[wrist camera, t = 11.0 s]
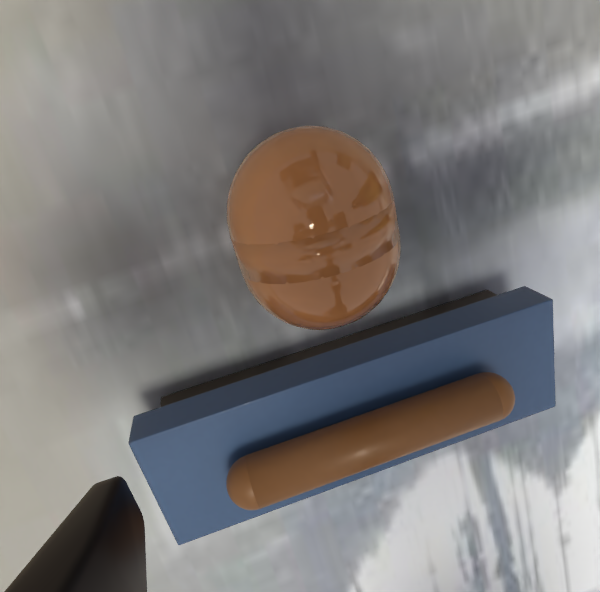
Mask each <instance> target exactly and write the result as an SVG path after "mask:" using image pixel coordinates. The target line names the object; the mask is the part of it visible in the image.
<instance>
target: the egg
mask: <svg viewBox="0 0 600 592" xmlns="http://www.w3.org/2000/svg"><path fill="white" fill-rule="evenodd" d="M227 224H228V228H229V233H230V238H231V241H232V244H233V247H234V251H235V254H236V257H237V260H238V264H239V267H240V270H241V273H242V275H243V278H244V280H245V282H246V285H247V287H248V288H249V290H250V292H251V293H252V294H253V296H254V297H255V299H256V300H257V302H258V303H259V304H260V305H261V306H262V307H263V308H265V309H266V310H267V311H268V312H269V313H270V314H272V315H273V316H275V317H276V318H278V319H280V320H282V321H283V322H285V323H287V324H290V325H293V326H297V327H300V328H304V329H310V330H324V329H332V328H337V327H341V326H344V325H347V324H350V323H353V322H355V321H357V320H359V319H361V318H362V317H364V316H365V315H367V314H368V313H369V312H370V311H371V310H372V309H373V308H375V307H376V306H377V305H378V304H379V303H380V302H381V300H382V299H383V298H384V296H385V295H386V293H387V292H388V290H389V289H390V287H391V286H392V284H393V281H394V278H395V276H396V273H397V270H398V266H399V260H400V254H401V245H400V232H399V226H398V220H397V214H396V208H395V201H394V196H393V192H392V189H391V185H390V181H389V179H388V177H387V175H386V173H385V171H384V169H383V167H382V165H381V163H380V162H379V161H378V159H377V158H376V157H375V156H374V154H373V153H372V152H371V151H370V150H369V149H368V148H367V147H366V146H364V145H363V144H362V143H361V142H360V141H358V140H357V139H355V138H353V137H352V136H350V135H348V134H346V133H344V132H342V131H339V130H335V129H331V128H328V127H324V126H301V127H295V128H290V129H287V130H284V131H281V132H278V133H275V134H274V135H272V136H270V137H269V138H267V139H266V140H264V141H262V142H261V143H259V144H258V145H257V146H256V147H255V148H254V149H253V150H252V151H251V152H250V153H249V154H248V155H247V156H246V157H245V159H244V160H243V162H242V163H241V165H240V166H239V168H238V169H237V171H236V174H235V176H234V178H233V181H232V183H231V186H230V191H229V196H228V201H227Z"/></svg>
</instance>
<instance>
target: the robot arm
mask: <svg viewBox="0 0 600 592" xmlns="http://www.w3.org/2000/svg"><path fill="white" fill-rule="evenodd" d="M5 592H147V580H146V553H145V527H144V520H143V516H142V513H141V511H140V509H139V507H138V505H137V503H136V501H135V499H134V497H133V495H132V493H131V491H130V489H129V487H128V485H127V483H126V481H125V480H124V479H123V478H122V477H119V476H117V477H114V478H111V479H108V480H105V481H102V482H99V483H96V484H95V485H93V486H92V488H91V489H90V490H89V491H88V492H87V493H86V495H85V496H84V497H83V498H82V499H81V501H80V502H79V503H78V504H77V505H76V507H75V508H74V509H73V510H72V511H71V513H70V514H69V515H68V516H67V517H66V519H65V520H64V521H63V522H62V523H61V525H60V526H59V527H58V528H57V529H56V531H55V532H54V533H53V534H52V535H51V537H50V538H49V539H48V540H47V541H46V543H45V544H44V545H43V546H42V547H41V549H40V550H39V551H38V552H37V553H36V555H35V556H34V557H33V558H32V559H31V561H30V562H29V563H28V564H27V565H26V567H25V568H24V569H23V570H22V571H21V573H20V574H19V575H18V576H17V577H16V579H15V580H14V581H13V582H12V583H11V585H10V586H9V587H8V588H7V589H6V591H5Z"/></svg>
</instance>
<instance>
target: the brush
mask: <svg viewBox="0 0 600 592" xmlns="http://www.w3.org/2000/svg"><path fill="white" fill-rule="evenodd" d="M552 407H555V369H554V333H553V300H552V299H551V298H548V297H546V296H544V295H542V294H540V293H538V292H536V291H534V290H532V289H530V288H528V287H526V286H523V287H520V288H517V289H514V290H511V291H508V292H505V293H502V294H499V295H496V294H494V293H492V292H491V291H489V290H485V291H482V292H479V293H476V294H473V295H470V296H467V297H464V298H461V299H458V300H455V301H451V302H448V303H445V304H442V305H439V306H436V307H433V308H430V309H427V310H424V311H421V312H418V313H415V314H412V315H409V316H406V317H403V318H400V319H397V320H394V321H391V322H388V323H385V324H382V325H379V326H376V327H373V328H370V329H367V330H364V331H361V332H358V333H355V334H352V335H349V336H346V337H342V338H339V339H336V340H333V341H330V342H327V343H324V344H321V345H318V346H315V347H312V348H309V349H306V350H303V351H300V352H297V353H294V354H291V355H288V356H285V357H282V358H279V359H276V360H273V361H270V362H267V363H264V364H261V365H258V366H255V367H252V368H249V369H246V370H243V371H240V372H237V373H233V374H230V375H227V376H224V377H221V378H218V379H215V380H212V381H209V382H206V383H203V384H200V385H197V386H194V387H191V388H188V389H185V390H182V391H179V392H176V393H173V394H170V395H167V396H164V397H162V398H161V406H160V408H157V409H154V410H151V411H148V412H145V413H142V414H139V415H136V416H134V417H133V422H132V428H131V433H130V438H129V445H130V447H131V449H132V451H133V454H134V456H135V458H136V460H137V462H138V464H139V466H140V468H141V470H142V472H143V474H144V476H145V478H146V480H147V482H148V484H149V486H150V488H151V490H152V492H153V494H154V496H155V498H156V500H157V502H158V505H159V507H160V509H161V511H162V513H163V515H164V517H165V519H166V521H167V523H168V525H169V527H170V529H171V531H172V533H173V535H174V537H175V539H176V541H177V543H178V545H181V544H184V543H186V542H189V541H192V540H195V539H197V538H200V537H203V536H205V535H208V534H211V533H214V532H216V531H219V530H222V529H224V528H227V527H230V526H233V525H235V524H238V523H241V522H243V521H246V520H249V519H251V518H254V517H257V516H260V515H262V514H265V513H268V512H270V511H273V510H276V509H279V508H281V507H284V506H287V505H289V504H292V503H295V502H297V501H300V500H303V499H306V498H308V497H311V496H314V495H316V494H319V493H322V492H325V491H327V490H330V489H333V488H335V487H338V486H341V485H344V484H346V483H349V482H352V481H354V480H357V479H360V478H362V477H365V476H368V475H371V474H373V473H376V472H379V471H381V470H384V469H387V468H390V467H392V466H395V465H398V464H400V463H403V462H406V461H408V460H411V459H414V458H417V457H419V456H422V455H425V454H427V453H430V452H433V451H436V450H438V449H441V448H444V447H446V446H449V445H452V444H454V443H457V442H460V441H463V440H465V439H468V438H471V437H473V436H476V435H479V434H482V433H484V432H487V431H490V430H492V429H495V428H498V427H501V426H503V425H506V424H509V423H511V422H514V421H517V420H519V419H522V418H525V417H528V416H530V415H533V414H536V413H538V412H541V411H544V410H547V409H549V408H552Z"/></svg>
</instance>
